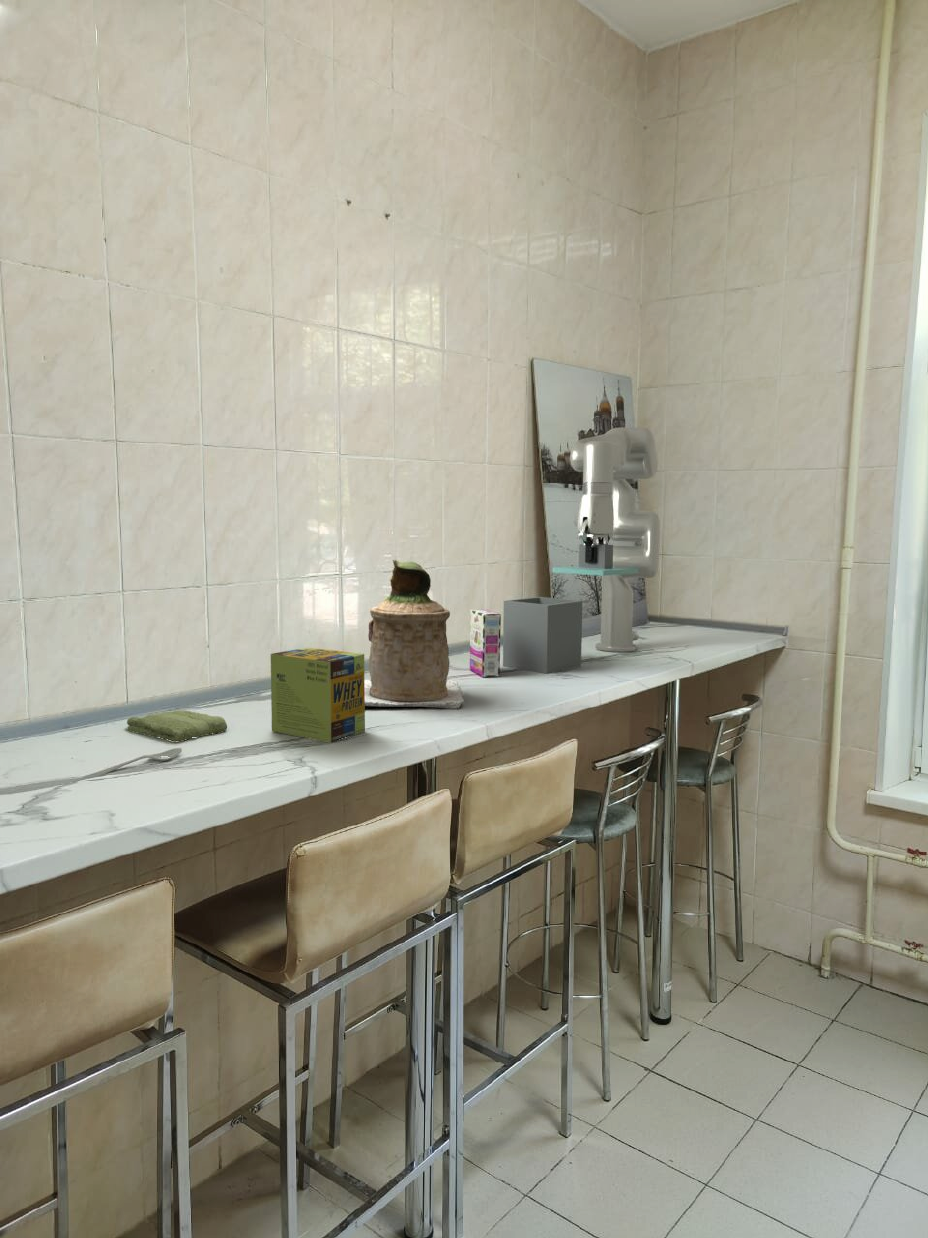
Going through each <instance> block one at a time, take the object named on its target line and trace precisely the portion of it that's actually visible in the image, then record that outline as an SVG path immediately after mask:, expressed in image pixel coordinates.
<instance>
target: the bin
mask: <svg viewBox="0 0 928 1238" xmlns="http://www.w3.org/2000/svg"><path fill="white" fill-rule="evenodd" d="M502 615H503V618H502V619H503V620H502V622H503V623H502V631H503V632H502V633H503V634H502V667H504V668H505V667H506V668H510V669H511V668H512V669H518V670H523V671H530V672H534V673H540V674H552V673H557V672H560V671H566V670H570V669H574V668H578V667H582V639H583V638H582V636H583V635H582V634H583V600H576V599H575V600H574V599H566V598H565V599H564V598H555V597H545V596H535V597H534V596H533V597H525V598H518V599H517V598H516V599H509V600H503V614H502Z"/></svg>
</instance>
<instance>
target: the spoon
mask: <svg viewBox="0 0 928 1238" xmlns="http://www.w3.org/2000/svg"><path fill="white" fill-rule="evenodd" d="M181 753H182V748H181V747H176V748H171V749H168V750H165V751H163V752H159V753H155V754H150V755H145V754H144V755H142V756H141V755H140V756H138V757H136V758H134V759H131V760H129V761H126V762H122V763H119V764H117V765H113V766H111V767H108V768H105V769H102V770H99V771H96V772H93V773H90V774H89V773H88V774H87V775H84V776H82V778H83V779H89V778H96V777H99V776H103V775H107V774H109V773H111V772H113V771H115V770H117V769H120V768H122V767H123V766H126V765H129V764H132V763H135V762H137V761H140V760H143V759H152V760H155V761H157V760H158V762H163V761H165V760H166V761H169V760H172V759H174V758H175V757H177V756H179V755H180V754H181ZM161 756H168V757H170V758H168V757H166V758H159V757H161ZM158 758H159V759H158Z"/></svg>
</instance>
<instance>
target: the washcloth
mask: <svg viewBox="0 0 928 1238" xmlns="http://www.w3.org/2000/svg"><path fill="white" fill-rule="evenodd" d="M126 724H127V731H129V730H131V731H130V732H132V731H134V732H133V733H137V732H138V734H140V733H142V735H144V734H145V736H148V735H150V736H149V737H151V736H153V738H156V737H160V738H163V739H162V740H164V739H168V740H171V741H180V742H182V741H181V740H184V741H186V740H185V739H187V740H189V739H188V738H192V737H197V738H198V736H199V737H203V736H202V735H204V736H207V735H206V734H211V735H213V734H216V733H215V732H220V731H224V732H226V731H227V729H228V725H227V722H226V720H225V718H223V717H222V716H219V715H213V716H212V715H210V714H207V713H200V712H196V711H190V710H189V711H188V710H184V709H181V710H173V711H172V710H170V711H162V712H155V713H149V714H147V715H144V716H142V717H141V716H140V717H139V716H132V717H129V718H128V719H127V721H126ZM225 730H226V731H225ZM212 733H213V734H212ZM220 733H221V732H220ZM171 741H170V742H171Z"/></svg>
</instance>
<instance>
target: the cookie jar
mask: <svg viewBox="0 0 928 1238" xmlns="http://www.w3.org/2000/svg"><path fill="white" fill-rule="evenodd" d="M392 563H393V566H394V567H393V570H392V575H391V577H390V579H389V581H390V587H391V590H390V594H389V595H388V596H387V597H386V598H385V599H384V600H383V601H382V602H381V603H380V604H379V605H378V606H374V607H372V608H371V609H370V610H369V613H370V617H371V618H372V619H370V621H369V622H368V635H367V637H368V641H369V642H371V644H370V650H369V659H368V669H369V676H370V679H364V683H365V707H379V708H380V707H381V708H387V707H393V708H394V707H395V708H397V707H398V708H399V707H402V708H403V707H404V708H405V707H406V708H409V707H413V708H415V707H416V708H417V707H418V708H441V709H454V708H458V709H460V707H461V706H462V705H463V704H464V701H465V699H464V698H463V695H462V691H461V688H460V687H459V685H458V684H459V683H458V681H455V680H449V679H448V676H449V673H450V672H449V671H450V658H449V656H450V649H449V644H448V637H447V636H448V635H447V620H448V619H449V618H450V616H451V611H450V610H449V609H447V608H445V607H443V605H442V604H440V603H438V602H437V601H435V600H433V599H431V598H430V597H429V595H428V593H429V592H430V589H431V581H432V580H431V576H430V574H429V573H428V572H427V571H426V570H425V569H423V567H422V566H421V564H418V563H417V562H415V561H402V562H401V561H398V560H397V559H396V558H392Z"/></svg>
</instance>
